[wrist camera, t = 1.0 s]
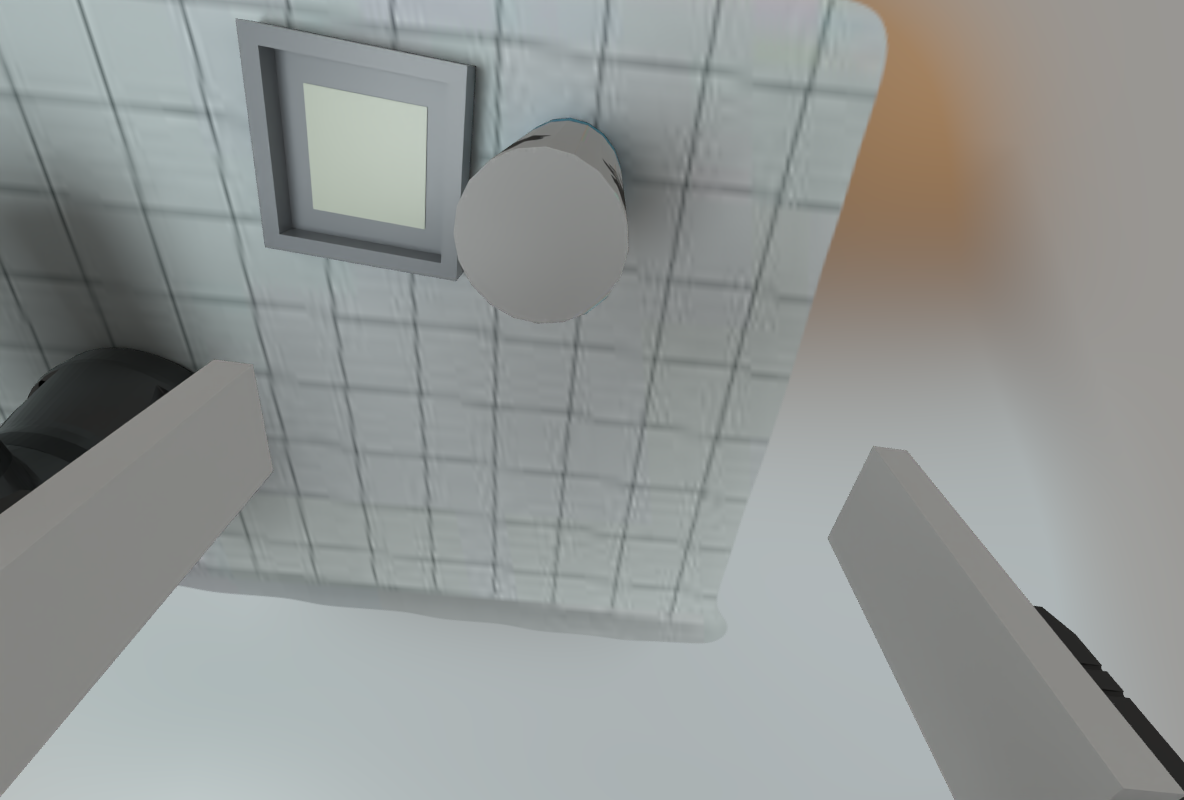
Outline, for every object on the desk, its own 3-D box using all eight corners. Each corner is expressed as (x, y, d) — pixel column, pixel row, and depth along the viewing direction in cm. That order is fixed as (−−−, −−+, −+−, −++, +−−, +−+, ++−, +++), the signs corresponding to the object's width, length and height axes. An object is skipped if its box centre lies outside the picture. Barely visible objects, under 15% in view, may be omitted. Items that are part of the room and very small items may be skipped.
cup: (491, 184, 34) (419, 249, 21) (559, 90, 32) (525, 101, 19) (573, 255, 36) (553, 353, 23) (644, 174, 34) (666, 234, 21)
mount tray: (283, 238, 36) (264, 247, 34) (258, 22, 30) (235, 18, 28) (464, 270, 37) (456, 281, 35) (475, 66, 31) (467, 65, 29)
